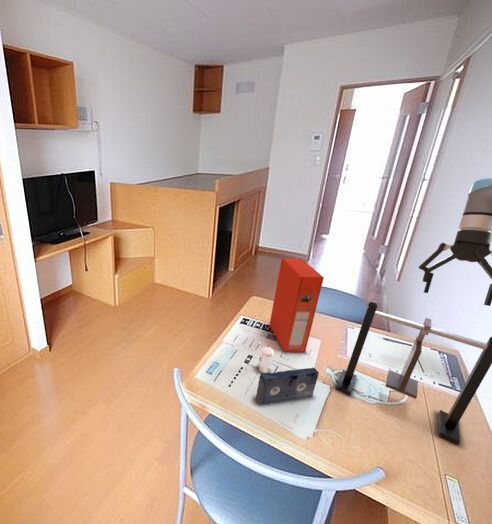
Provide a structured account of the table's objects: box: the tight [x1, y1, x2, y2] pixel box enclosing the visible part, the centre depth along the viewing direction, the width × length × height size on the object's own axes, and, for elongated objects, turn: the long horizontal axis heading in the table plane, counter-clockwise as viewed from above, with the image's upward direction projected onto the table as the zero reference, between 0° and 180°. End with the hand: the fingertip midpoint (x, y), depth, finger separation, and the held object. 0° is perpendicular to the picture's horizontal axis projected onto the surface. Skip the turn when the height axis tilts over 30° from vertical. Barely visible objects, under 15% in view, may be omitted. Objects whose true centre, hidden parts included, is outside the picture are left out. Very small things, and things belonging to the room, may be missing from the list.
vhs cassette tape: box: [255, 367, 320, 405], centre depth 94 cm, size 18×3×10 cm, turn 98°
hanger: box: [385, 317, 432, 400], centre depth 87 cm, size 7×8×22 cm
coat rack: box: [335, 301, 492, 446], centre depth 88 cm, size 29×10×32 cm, turn 48°
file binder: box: [268, 257, 325, 353], centre depth 118 cm, size 8×17×32 cm, turn 177°
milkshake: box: [258, 342, 275, 374], centre depth 106 cm, size 4×5×10 cm
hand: (454, 298), depth 94 cm, fingers open, 13 cm apart
